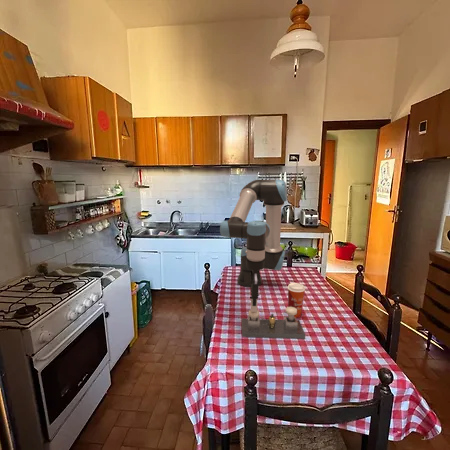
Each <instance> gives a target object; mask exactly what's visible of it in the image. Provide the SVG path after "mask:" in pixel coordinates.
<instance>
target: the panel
mask: <svg viewBox="0 0 450 450" xmlns="http://www.w3.org/2000/svg"><path fill="white" fill-rule="evenodd" d="M283 318H284V319H275V327H274V328H271V327H269V318H266V319H265V318H260V316H259V317H257V318H256V321H251V317H250V316H249V315H247V318H241V336H242V337H243V338H267V339H268V338H269V339H271V338H272V339H273V338H274V339H301V340H305V339H306V333H305V330H304V328H303V326H302V323H301V321H300V320H299V319H297V318H296V317H294V321H289V320H288V316H284V317H283Z"/></svg>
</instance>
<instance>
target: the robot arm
mask: <svg viewBox="0 0 450 450" xmlns="http://www.w3.org/2000/svg"><path fill="white" fill-rule="evenodd" d="M256 201H263V205H264V206H265V221H260V220H258V221H257V220H252V221H249V222H248V221H247V218H248V216H249V213H250V210H251V208H252V206H253V204H254V203H255V202H256ZM287 201H288V189H287V184H286V181H285V180H284V179H255V180H252V181H250V182H248V183H246V185H244V186H243V188H242V189H241V190H240V192H239V198H238V201H237V202H236V205H235V207H234V209H233V211H232V213H231V215H230V217H229V219H228V220H223V221H221V223H220V226H219V234H220V235H221V237H225V238H230V239H231V238H232V239H244V240H245V239H246V246H244V247H242V248H241V249H240V251H241V252H240V271H239V274H238V276H237V284H238V285H240V286H242V287H246V288H250V296H249V299H250V310H251V312H257V310H258V299H259V296H260V295H259V287H260V286H261V285H262V281H263V280H262V277H261V272H260V271H261V270H273V271H281V270H282V268H283V266H284V260H285V255H286V252H285V250H284V249H283V247H282V245H281V228H282V227H281V225H282V223H281V222H282V208H283V206H284V205H285V202H287Z"/></svg>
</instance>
